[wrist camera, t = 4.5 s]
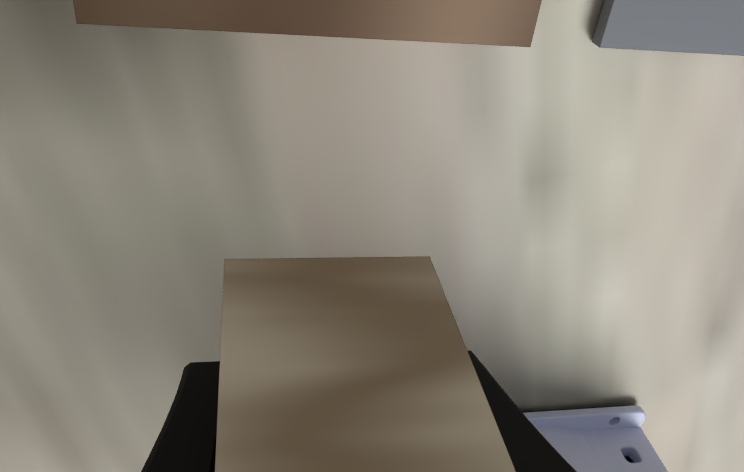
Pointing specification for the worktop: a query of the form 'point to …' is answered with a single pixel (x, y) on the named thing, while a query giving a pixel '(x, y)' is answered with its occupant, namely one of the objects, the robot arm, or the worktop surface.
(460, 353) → the maple block
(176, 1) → the walnut block
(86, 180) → the worktop surface
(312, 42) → the worktop surface
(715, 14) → the card
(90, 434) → the worktop surface
